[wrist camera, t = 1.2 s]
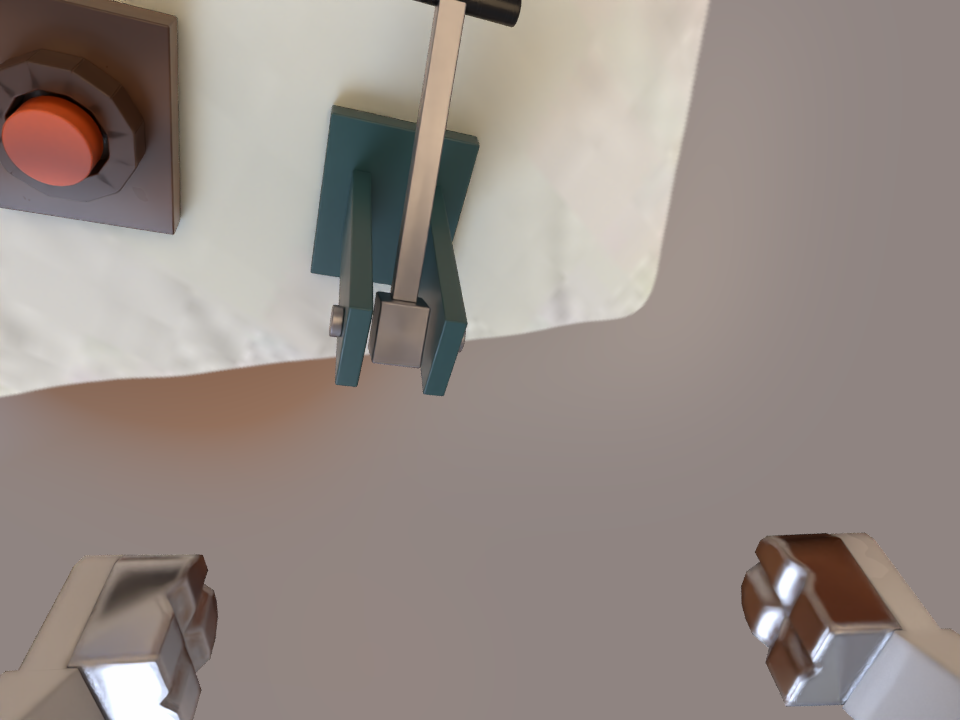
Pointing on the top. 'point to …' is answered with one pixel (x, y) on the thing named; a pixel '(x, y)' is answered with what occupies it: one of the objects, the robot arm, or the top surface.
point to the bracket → (388, 236)
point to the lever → (425, 184)
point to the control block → (98, 106)
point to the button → (52, 140)
